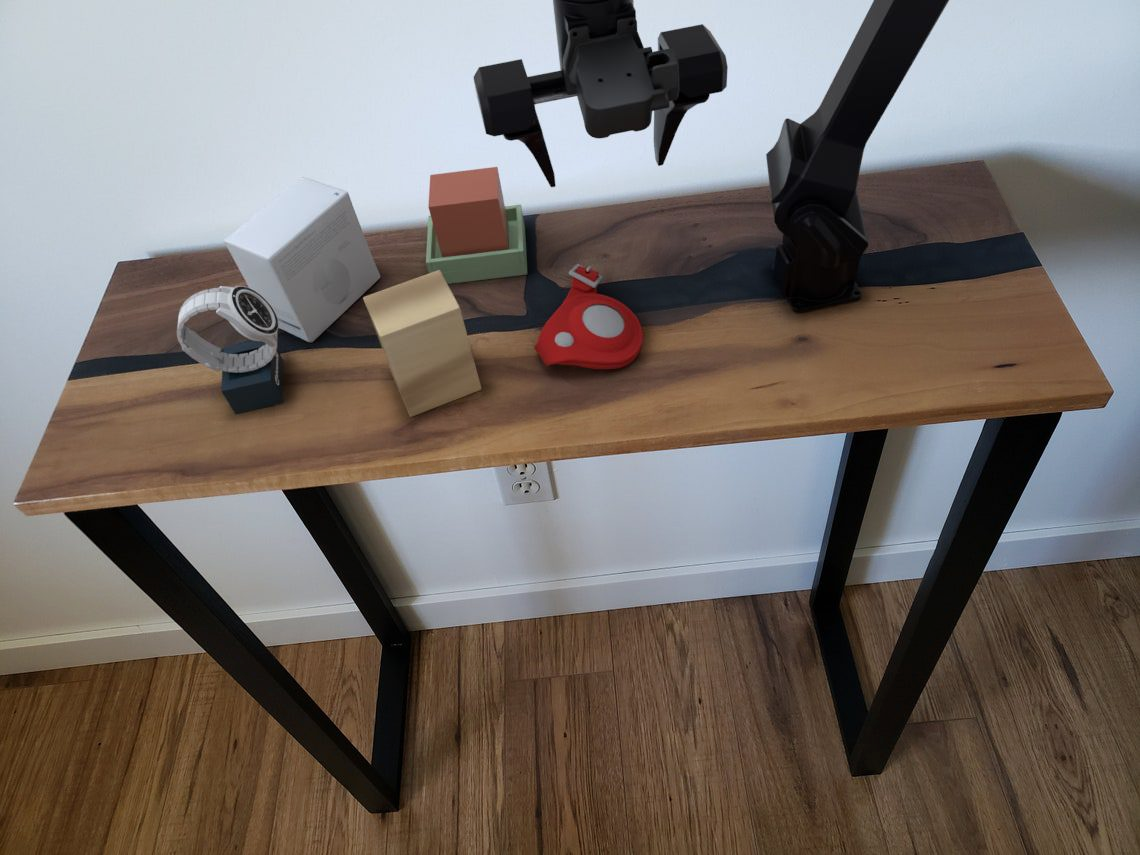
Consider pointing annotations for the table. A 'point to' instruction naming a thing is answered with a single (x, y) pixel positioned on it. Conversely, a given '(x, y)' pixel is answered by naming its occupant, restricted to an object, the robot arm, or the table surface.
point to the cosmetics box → (305, 257)
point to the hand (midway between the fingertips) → (605, 173)
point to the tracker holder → (590, 328)
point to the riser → (424, 342)
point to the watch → (238, 346)
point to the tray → (482, 255)
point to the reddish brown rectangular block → (468, 212)
